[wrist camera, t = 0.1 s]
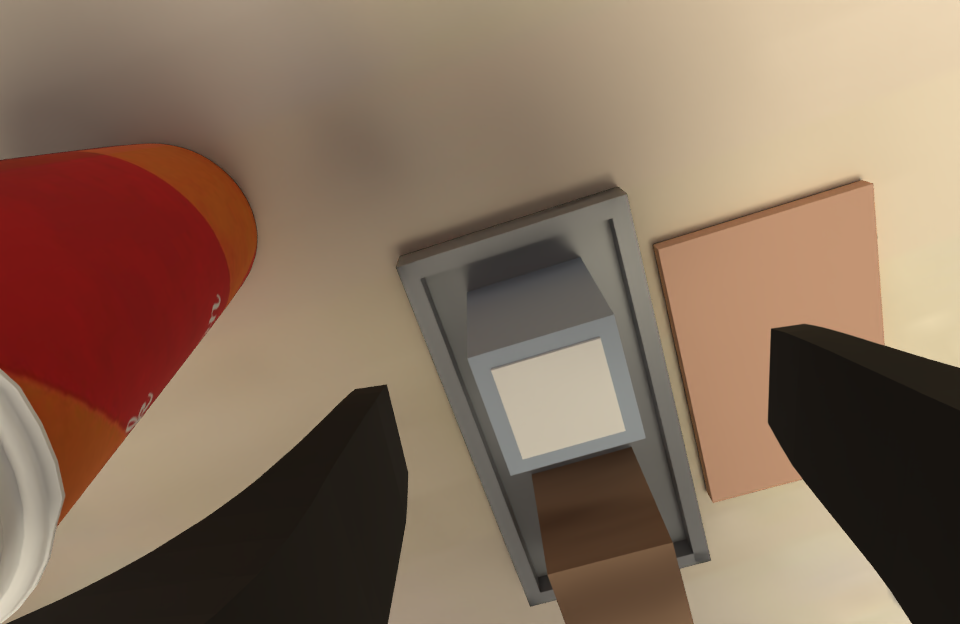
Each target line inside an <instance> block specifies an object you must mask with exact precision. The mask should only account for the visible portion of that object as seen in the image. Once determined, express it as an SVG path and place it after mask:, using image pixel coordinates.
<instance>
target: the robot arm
mask: <svg viewBox="0 0 960 624" xmlns="http://www.w3.org/2000/svg"><path fill="white" fill-rule="evenodd" d="M768 424H769V426H770V428H771V430H772V431H773V433H774V435H775V437H776V439H777V440H778V442H779V444H780V446H781V448H782V449H783V451H784V452H785V454H786V456H787V457H788V459H789V461H790V462H791V464H792V466H793V467H794V468H795V470H796V471H797V472H798V474H799V475H800V476H801V478H802V479H803V480H804V481H805V483H806V484H807V485H808V486H809V488H810V489H811V490H812V492H813V493H814V494H815V495H816V497H817V498H818V499H819V500H820V502H821V503H822V504H823V505H824V507H825V508H826V509H827V510H828V512H829V513H830V514H831V515H832V517H833V518H834V519H835V520H836V522H837V523H838V524H839V525H840V526H841V528H842V529H843V530H844V531H845V533H846V534H847V535H848V536H849V538H850V539H851V540H852V541H853V543H854V544H855V545H856V546H857V548H858V549H859V550H860V551H861V553H862V554H863V555H864V556H865V558H866V559H867V560H868V561H869V562H870V564H871V565H872V566H873V568H874V569H875V570H876V572H877V573H878V574H879V576H880V577H881V578H882V580H883V581H884V582H885V584H886V585H887V587H888V588H889V589H890V591H891V592H892V594H893V595H894V597H895V598H896V600H897V601H898V603H899V604H900V606H901V607H902V609H903V611H904V612H905V614H906V615H907V617H908V618H909V620H910V621H911V623H912V624H960V368H958V367H954V366H951V365H947V364H944V363H940V362H937V361H933V360H930V359H927V358H923V357H920V356H917V355H913V354H910V353H907V352H904V351H900V350H897V349H894V348H891V347H887V346H884V345H881V344H878V343H875V342H871V341H868V340H865V339H862V338H858V337H855V336H852V335H849V334H845V333H842V332H838V331H835V330H831V329H827V328H823V327H819V326H815V325H809V324H799V325H792V326H785V327H778V328H771V340H770V369H769V398H768ZM407 494H408V470H407V466H406V462H405V458H404V454H403V450H402V446H401V441H400V437H399V433H398V429H397V425H396V421H395V417H394V412H393V408H392V404H391V400H390V396H389V392H388V388H387V385H381V386H374V387H367V388H360V389H355V390H354V391H352V392H351V393H350V394H349V395H348V396H347V397H346V398H344V399H343V400H342V401H341V402H340V403H339V404H338V405H337V406H336V407H335V408H334V409H333V410H332V411H331V412H330V413H329V414H328V415H327V416H326V417H325V418H324V419H323V420H322V421H321V422H320V423H319V424H318V425H317V426H316V427H315V428H314V429H313V430H312V431H311V432H310V433H309V434H308V435H307V436H306V437H305V438H304V439H302V440H301V441H300V442H299V443H298V444H297V445H296V446H295V447H294V448H293V449H292V450H290V451H289V452H288V453H287V454H286V455H285V456H284V457H283V458H281V459H280V460H279V461H278V462H277V463H276V464H275V465H273V466H272V467H271V468H270V469H269V470H268V471H267V472H265V473H264V474H263V475H262V476H261V477H260V478H258V479H257V480H256V481H255V482H254V483H252V484H251V485H250V486H249V487H247V488H246V489H245V490H243V491H242V492H241V493H240V494H238V495H237V496H235V497H234V498H233V499H231V500H230V501H229V502H227V503H226V504H224V505H223V506H222V507H220V508H219V509H218V510H216V511H215V512H213V513H212V514H210V515H209V516H208V517H206V518H205V519H203V520H202V521H200V522H198V523H197V524H195V525H194V526H192V527H190V528H189V529H187V530H186V531H184V532H182V533H181V534H179V535H178V536H176V537H174V538H173V539H171V540H170V541H168V542H166V543H165V544H163V545H162V546H160V547H158V548H157V549H155V550H154V551H152V552H150V553H148V554H147V555H145V556H143V557H141V558H140V559H138V560H136V561H134V562H132V563H131V564H129V565H127V566H125V567H123V568H121V569H120V570H118V571H116V572H114V573H112V574H110V575H108V576H106V577H104V578H102V579H101V580H99V581H97V582H95V583H93V584H91V585H89V586H87V587H85V588H83V589H81V590H79V591H77V592H75V593H73V594H71V595H69V596H67V597H65V598H63V599H60V600H58V601H56V602H54V603H52V604H49V605H47V606H45V607H43V608H40V609H38V610H36V611H34V612H31V613H29V614H27V615H25V616H23V617H20V618H18V619H16V620H14V621H11V622H9V623H7V624H388V619H389V613H390V608H391V603H392V597H393V592H394V586H395V581H396V575H397V570H398V564H399V559H400V553H401V547H402V542H403V536H404V530H405V524H406V515H407Z"/></svg>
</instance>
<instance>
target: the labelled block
mask: <svg viewBox="0 0 960 624" xmlns="http://www.w3.org/2000/svg"><path fill="white" fill-rule="evenodd" d="M467 359H468V362H469V365H470V367H471V370H472V373H473V375H474V378H475V381H476V383H477V386H478V389H479V392H480V394H481V397H482V400H483V402H484V405H485V408H486V410H487V413H488V416H489V419H490V421H491V424H492V427H493V429H494V432H495V435H496V437H497V440H498V443H499V446H500V448H501V451H502V454H503V456H504V459H505V462H506V464H507V467H508V470H509V472H510V475H511V476H512V475H515V474H519V473H522V472H526V471H530V470H533V469H537V468H540V467H544V466H548V465H551V464H555V463H559V462H562V461H566V460H569V459H573V458H577V457H580V456H584V455H587V454H591V453H595V452H598V451H602V450H605V449H609V448H613V447H616V446H620V445H623V444H627V443H631V442H634V441H638V440H642V439H645V438H646V437H645V433H644V429H643V425H642V421H641V417H640V413H639V409H638V406H637V402H636V398H635V394H634V390H633V386H632V382H631V378H630V374H629V371H628V367H627V363H626V359H625V355H624V351H623V347H622V343H621V339H620V336H619V332H618V328H617V324H616V320H615V316H614V314H613V312H612V310H611V308H610V307H609V305H608V303H607V302H606V300H605V298H604V296H603V295H602V293H601V291H600V290H599V288H598V286H597V284H596V283H595V281H594V279H593V278H592V276H591V274H590V273H589V271H588V269H587V267H586V266H585V264H584V262H583V261H582V259H581V257H578V258H575V259H572V260H569V261H566V262H562V263H559V264H556V265H553V266H549V267H546V268H543V269H540V270H537V271H533V272H530V273H527V274H524V275H520V276H517V277H514V278H511V279H508V280H504V281H501V282H498V283H495V284H491V285H488V286H485V287H482V288H479V289H475V290H472V291H469V292H467Z"/></svg>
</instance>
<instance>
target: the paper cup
mask: <svg viewBox="0 0 960 624" xmlns="http://www.w3.org/2000/svg"><path fill="white" fill-rule="evenodd" d="M256 249H257V230H256V224H255V220H254V216H253V213H252V210H251V208H250V205H249V203H248V201H247V199H246V197H245V196H244V194H243V192H242V191H241V190H240V188H239V187H238V185H237V184H236V183H235V182H234V180H233V179H232V178H231V177H230V176H229V175H228V174H227V173H226V172H225V171H224V170H222V169H221V168H220V167H219V166H217V165H216V164H215V163H213V162H212V161H210V160H209V159H207V158H205V157H204V156H202V155H200V154H198V153H195V152H193V151H191V150H188V149H185V148H181V147H178V146H172V145H166V144H132V145H121V146H111V147H102V148H94V149H85V150H77V151H68V152H60V153H52V154H44V155H36V156H28V157H20V158H12V159H4V160H0V624H1V623H2V622H4V621H5V620H6V619H7V618H8V617H10V616H11V615H12V614H13V613H14V612H16V611H17V610H18V609H19V608H20V606H21V605H22V604H23V603H24V601H25V600H26V599H27V597H28V596H29V595H30V594H31V592H32V591H33V590H34V589H35V587H36V586H37V585H38V583H39V581H40V579H41V577H42V574H43V572H44V570H45V568H46V566H47V564H48V561H49V559H50V556H51V551H52V546H53V542H54V537H55V532H56V527H57V526H58V525H59V523H60V522H61V521H62V519H63V518H64V517H65V516H66V514H67V513H68V512H69V510H70V509H71V508H72V507H73V505H74V504H75V503H76V501H77V500H78V499H79V498H80V496H81V495H82V494H83V492H84V491H85V490H86V488H87V487H88V486H89V485H90V483H91V482H92V481H93V479H94V478H95V477H96V476H97V474H98V473H99V472H100V470H101V469H102V468H103V467H104V465H105V464H106V463H107V461H108V460H109V459H110V457H111V456H112V455H113V454H114V452H115V451H116V450H117V448H118V447H119V446H120V445H121V443H122V442H123V441H124V439H125V438H126V437H127V436H128V434H129V433H130V432H131V430H132V429H133V428H134V427H135V425H136V424H137V423H138V421H139V420H140V419H141V418H142V416H143V415H144V414H145V412H146V411H147V410H148V408H149V407H150V406H151V405H152V403H153V402H154V401H155V399H156V398H157V397H158V396H159V394H160V393H161V392H162V390H163V389H164V388H165V387H166V385H167V384H168V383H169V381H170V380H171V379H172V378H173V376H174V375H175V374H176V372H177V371H178V370H179V368H180V367H181V366H182V365H183V363H184V362H185V361H186V359H187V358H188V357H189V355H190V354H191V353H192V351H193V350H194V349H195V348H196V346H197V345H198V344H199V342H200V341H201V340H202V338H203V337H204V336H205V335H206V333H207V332H208V331H209V329H210V328H211V327H212V325H213V324H214V323H215V321H216V320H217V319H218V317H219V316H220V315H221V313H222V312H223V311H224V309H225V308H226V307H227V305H228V304H229V303H230V301H231V300H232V298H233V297H234V296H235V294H236V293H237V291H238V290H239V289H240V287H241V286H242V284H243V282H244V281H245V279H246V278H247V276H248V274H249V272H250V270H251V268H252V265H253V262H254V259H255V255H256Z"/></svg>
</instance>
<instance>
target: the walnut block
mask: <svg viewBox="0 0 960 624" xmlns="http://www.w3.org/2000/svg"><path fill="white" fill-rule="evenodd" d="M532 481H533V487H534V493H535V500H536V506H537V512H538V519H539V525H540V531H541V537H542V544H543V550H544V556H545V563H546V569H547V575H548V578H549V580H550V583H551V586H552V588H553V591H554V594H555V597H556V599H557V602H558V605H559V607H560V610H561V613H562V615H563V618H564V621H565V624H694V623H693V619H692V615H691V612H690V608H689V604H688V600H687V596H686V592H685V588H684V584H683V580H682V577H681V573H680V569H679V565H678V561H677V557H676V553H675V549H674V545H673V542H672V540H671V537H670V535H669V533H668V530H667V528H666V526H665V523H664V521H663V519H662V516H661V514H660V512H659V509H658V507H657V505H656V502H655V500H654V498H653V495H652V493H651V491H650V488H649V486H648V484H647V481H646V479H645V477H644V474H643V472H642V470H641V468H640V465H639V463H638V461H637V458H636V456H635V454H634V451H633V449H632V447H629V448H626V449H622V450H618V451H615V452H611V453H608V454H604V455H600V456H597V457H593V458H590V459H586V460H582V461H579V462H575V463H571V464H568V465H564V466H561V467H557V468H553V469H550V470H546V471H543V472H539V473H535V474H532Z"/></svg>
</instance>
